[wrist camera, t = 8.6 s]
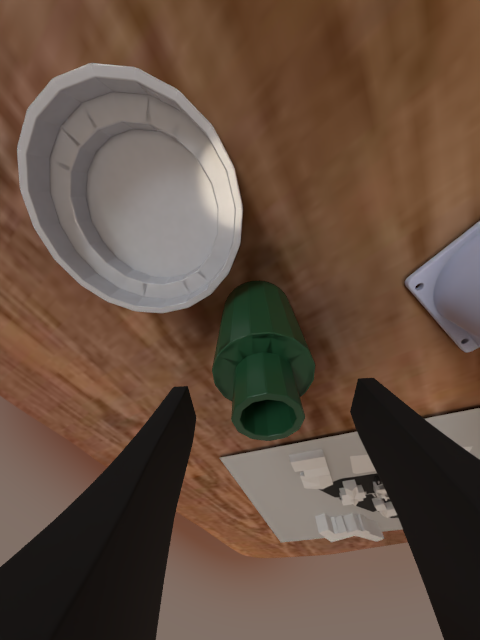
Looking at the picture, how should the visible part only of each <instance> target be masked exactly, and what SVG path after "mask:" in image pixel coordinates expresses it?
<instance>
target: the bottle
mask: <svg viewBox="0 0 480 640" xmlns="http://www.w3.org/2000/svg"><path fill="white" fill-rule="evenodd" d="M212 372H213V377H214V383H215V385H216V387H217V388H218V389H219V391H220V392H221V393H222V394H223V396H224V397H225V398H227V399H229V400H230V401H232V418H231V419H232V422H233V424H234V426H235V427H236V429H237V431H238V432H240V433H242V434H243V435H245V436H247V437H249V438H252V439H257V440H265V441H271V440H277V439H282V438H285V437H288V436H289V435H291V434H293V433H294V432H296V431H297V430H299V429H300V427H301V425H302V423H303V421H304V419H305V414H304V411H303V407H302V403H301V400H300V396H302V395H303V394H304V393H305V392H306V391H307V389H308V388H309V386H310V385H311V383H312V382H313V380H314V372H315V363H314V360H313V358H312V355H311V353H310V351H309V348H308V346H307V344H306V341H305V339H304V336H303V334H302V332H301V329H300V327H299V325H298V322H297V320H296V317H295V315H294V313H293V310H292V308H291V306H290V303H289V301H288V299H287V297H286V295H285V294H284V292H283V291H282V290H281V289H280V288H278V287H277V286H275V285H273V284H271V283H269V282H264V281H251V282H247V283H244V284H242V285H240V286H238V287H237V288H236V289H234V290H233V291H232V292H231V294H230V295H229V296H228V298H227V300H226V302H225V306H224V310H223V314H222V320H221V325H220V330H219V336H218V341H217V347H216V352H215V357H214V363H213V368H212Z"/></svg>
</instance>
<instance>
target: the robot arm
mask: <svg viewBox="0 0 480 640" xmlns="http://www.w3.org/2000/svg"><path fill="white" fill-rule="evenodd" d="M418 284H419V286H418V287H417V288H415V287H416V286H417V285H418ZM405 285H406V287H407V288H408V289H409V290H410V291H411V293H412V294H413V295H414V296H415V297H416V298H417V300H418V301H419V302H420V303H421V304H422V305H423V306H424V308H425V309H426V310H427V311H428V312H429V313H430V315H431V316H432V317H433V318H434V319H435V320H436V322H437V323H438V324H439V325H440V326H441V327H442V328H443V330H444V331H445V332H446V333H447V334H448V335H449V337H450V338H451V339H452V340H453V341H454V342H455V344H456V345H457V346H458V347H459V348H460V349H461V350H462V351H464V352H471V351H473V350H475V349H477V348H479V347H480V221H479V222H477V223H476V224H475V225H474V226H472V227H471V228H470V229H469V230H467V231H466V232H465V233H463V234H462V235H461V236H460V237H458V238H457V239H456V240H454V241H453V242H452V243H451V244H449V245H448V246H447V247H446V248H444V249H443V250H442V251H440V252H439V253H438V254H437V255H435V256H434V257H433V258H431V259H430V260H429V261H428V262H426V263H425V264H424V265H422V266H421V267H420V268H419V269H417V270H416V271H415V272H414V273H412V274H411V275H410V276H408V277H407V279H406V280H405ZM350 412H351V415H352V418H353V421H354V424H355V427H356V429H357V432H358V435H359V437H360V439H361V441H362V444H363V446H364V448H365V450H366V452H367V454H368V456H369V458H370V460H371V462H372V464H373V466H374V468H375V470H376V472H377V474H378V476H379V478H380V480H381V482H382V484H383V486H384V488H385V490H386V492H387V494H388V496H389V498H390V500H391V503H392V505H393V507H394V509H395V511H396V514H397V516H398V518H399V521H400V523H401V526H402V528H403V531H404V533H405V536H406V538H407V541H408V543H409V546H410V548H411V551H412V553H413V556H414V559H415V561H416V564H417V566H418V569H419V572H420V574H421V577H422V580H423V582H424V585H425V587H426V590H427V593H428V595H429V599H430V601H431V604H432V607H433V610H434V612H435V615H436V618H437V621H438V624H439V626H440V629H441V632H442V635H443V637H444V640H480V459H478V458H477V457H475V456H474V455H472V454H471V453H469V452H468V451H467V450H465V449H464V448H463V447H461V446H460V445H458V444H457V443H456V442H454V441H453V440H452V439H450V438H449V437H447V436H446V435H445V434H443V433H442V432H441V431H439V430H438V429H437V428H435V427H434V426H433V425H432V424H430V423H429V422H428V421H426V420H425V419H424V418H423V417H421V416H420V415H419V414H417V413H416V412H415V411H414V410H412V409H411V408H410V407H409V406H407V405H406V404H405V403H404V402H403V401H401V400H400V399H399V398H398V397H396V396H395V395H394V394H393V393H392V392H390V391H389V390H388V389H387V388H385V387H384V386H383V385H382V384H380V383H379V382H378V381H377V380H375V379H374V378H361V379H358V382H357V386H356V390H355V394H354V398H353V402H352V407H351V411H350ZM195 423H196V415H195V411H194V407H193V404H192V400H191V397H190V393H189V389H188V386H184V387H173V388H172V390H171V391H170V392H169V394H168V395H167V396H166V398H165V399H164V400H163V402H162V403H161V404H160V406H159V407H158V408H157V409H156V411H155V412H154V413H153V415H152V416H151V417H150V418H149V420H148V421H147V422H146V423H145V425H144V426H143V427H142V428H141V430H140V431H139V432H138V433H137V435H136V436H135V437H134V438H133V439H132V440H131V442H130V443H129V444H128V445H127V446H126V447H125V449H124V450H123V451H122V452H121V453H120V454H119V455H118V457H117V458H116V459H115V460H114V461H113V462H112V463H111V464H110V465H109V466H108V468H107V469H106V470H105V471H104V472H103V473H102V474H101V475H100V476H99V477H98V478H97V479H96V480H95V481H94V482H93V483H92V484H91V485H90V486H89V487H88V488H87V489H86V490H85V491H84V492H83V493H82V494H81V495H80V496H79V497H78V498H77V499H76V500H75V501H74V502H73V503H72V504H71V505H70V506H69V507H68V508H67V509H66V510H65V511H63V512H62V513H61V514H60V515H59V516H58V517H57V518H56V519H55V520H54V521H53V522H52V523H50V524H49V525H48V526H47V527H46V528H45V529H44V530H43V531H41V532H40V533H39V534H38V535H37V536H36V537H35V538H33V539H32V540H31V541H30V542H29V543H28V544H27V545H25V546H24V547H23V548H22V549H21V550H20V551H19V552H17V553H16V554H15V555H14V556H13V557H12V558H11V559H9V560H8V561H7V562H6V563H5V564H3V565H2V566H1V567H0V640H156V633H157V625H158V619H159V611H160V604H161V597H162V590H163V584H164V577H165V570H166V564H167V558H168V552H169V546H170V540H171V534H172V528H173V522H174V516H175V512H176V507H177V503H178V499H179V495H180V491H181V487H182V483H183V479H184V475H185V471H186V467H187V463H188V459H189V455H190V451H191V447H192V443H193V437H194V431H195Z"/></svg>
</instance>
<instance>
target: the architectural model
mask: <svg viewBox="0 0 480 640" xmlns="http://www.w3.org/2000/svg"><path fill="white" fill-rule="evenodd" d="M425 420H426V421H428V422H429V423H430V424H432V425H433V426H434V427H435V428H437V429H438V430H439V431H441V432H442V433H443V434H445V435H446V436H447V437H449V438H450V439H452V440H453V441H454V442H456V443H457V444H458V445H460V446H461V447H463V448H464V449H465V450H467V451H468V452H469V453H471V454H472V455H474V456H475V457H477V458H478V459H480V408H477V409H472V410H467V411H462V412H456V413H451V414H446V415H441V416H436V417H430V418H425ZM220 459H221V461H222V462H223V463H224V465H225V466H226V468H227V469H228V470H229V472H230V473H231V474H232V476H233V477H234V479H235V480H236V481H237V483H238V484H239V485H240V487H241V488H242V490H243V491H244V492H245V494H246V495H247V496H248V498H249V499H250V500H251V502H252V503H253V505H254V506H255V507H256V509H257V510H258V511H259V513H260V514H261V516H262V517H263V518H264V520H265V521H266V522H267V524H268V525H269V527H270V528H271V529H272V531H273V532H274V533H275V535H276V536H277V538H278V539H279V540H280V542H290V541H300V540H309V539H318V538H326V539H328V540H329V541H330V542H334V541H338V540H341V539H345V538H348V537H351V536H358V537H362V538H366V539H369V540H373V541H376V542H377V541H379V540H382V539H384V536H383V534H382V532H383V531H392V530H401V529H403V528H402V526H401V523H400V521H399V518H398V516H397V514H396V511H395V509H394V507H393V505H392V503H391V500H390V498H389V496H388V494H387V492H386V490H385V488H384V486H383V484H382V482H381V480H380V478H379V476H378V474H377V472H376V470H375V468H374V466H373V464H372V462H371V460H370V458H369V456H368V454H367V452H366V450H365V448H364V446H363V444H362V441H361V439H360V437H359V435H358V432H352V433H347V434H342V435H337V436H331V437H326V438H321V439H316V440H310V441H305V442H300V443H295V444H290V445H284V446H279V447H274V448H269V449H264V450H258V451H253V452H248V453H243V454H238V455H232V456H227V457H222V458H220Z"/></svg>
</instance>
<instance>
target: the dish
mask: <svg viewBox="0 0 480 640" xmlns="http://www.w3.org/2000/svg"><path fill="white" fill-rule="evenodd" d="M17 148H18V149H17V156H18V169H19V182H20V189H21V190H20V191H21V193H22V196H23V199H24V202H25V205H26V207H27V210H28V213H29V216H30V218H31V221H32V224H33V227H35V228H34V229H35V230H36V232H37V233H38V235H39V236H40V238H41V239H42V241H43V242H44V244H45V246H46V247H47V249H48V250H49V252H50V253H51V255H52V256H53V258H54V259H55V260H56V261H57V262H58V263H59V264H60V265H61V266H62V267H63V268H64V269H65V270H66V271H67V272H68V273H69V274H70V275H71V276H72V277H73V278H74V279H75V280H76V281H77V282H78V283H79V284H80V285H82V286H83V287H85V288H86V289H88V290H90V291H91V292H93V293H94V294H96V295H97V296H99V297H101V298H102V299H104V300H105V301H108V302H110V303H113V304H116V305H118V306H121V307H124V308H127V309H130V310H133V311H138V312H152V313H167V312H171V311H176V310H180V309H185V308H188V307H191V306H192V305H194V304H196V303H197V302H199V301H201V300H202V299H204V298H206V297H207V296H209V295H211V294H212V293H213V292H214V290H215V289H216V288H217V287H218V286H219V284H220V283H221V282H222V281H223V280H224V279H225V277H226V276H227V275H228V274H229V272H230V270H231V267H232V264H233V262H234V259H235V257H236V254H237V252H238V249H239V247H240V243H241V232H242V218H243V202H242V197H241V192H240V187H239V183H238V178H237V174H236V171H235V168H234V165H233V163H232V162H231V160H230V158H229V156H228V154H227V152H226V150H225V148H224V146H223V144H222V142H221V140H220V138H219V137H218V135H217V133H216V131H215V129H214V127H213V126H212V124H211V123H210V122H209V121H208V120H207V119H206V118H205V117H204V116H203V115H202V114H201V113H200V112H199V111H198V110H197V109H196V108H195V106H194V105H193V104H192V103H191V102H190V101H189V100H188V99H187V98H186V97H185V96H184V95H183V94H182V93H181V92H180V91H178V89H176V88H174V87H172V86H170V85H168V84H167V83H165V82H163V81H161V80H159V79H157V78H155V77H153V76H152V75H150V74H148V73H146V72H144V71H142V70H140V69H138V68H135V67H129V66H119V65H108V64H98V63H89V64H87V65H84V66H82V67H79V68H77V69H74V70H72V71H69V72H67V73H64V74H62V75H59V76H57V77H54V78H53V79H52V80H51V81H50V82H49V83H48V84H47V86H46V87H45V88H44V89H43V91H42V92H41V93H40V94H39V95H38V97H37V98H36V99H35V100H34V101H33V103H32V104H31V105H30V106H29V108H28V110H27V112H26V116H25V120H24V123H23V127H22V131H21V135H20V138H19V142H18V146H17Z"/></svg>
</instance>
